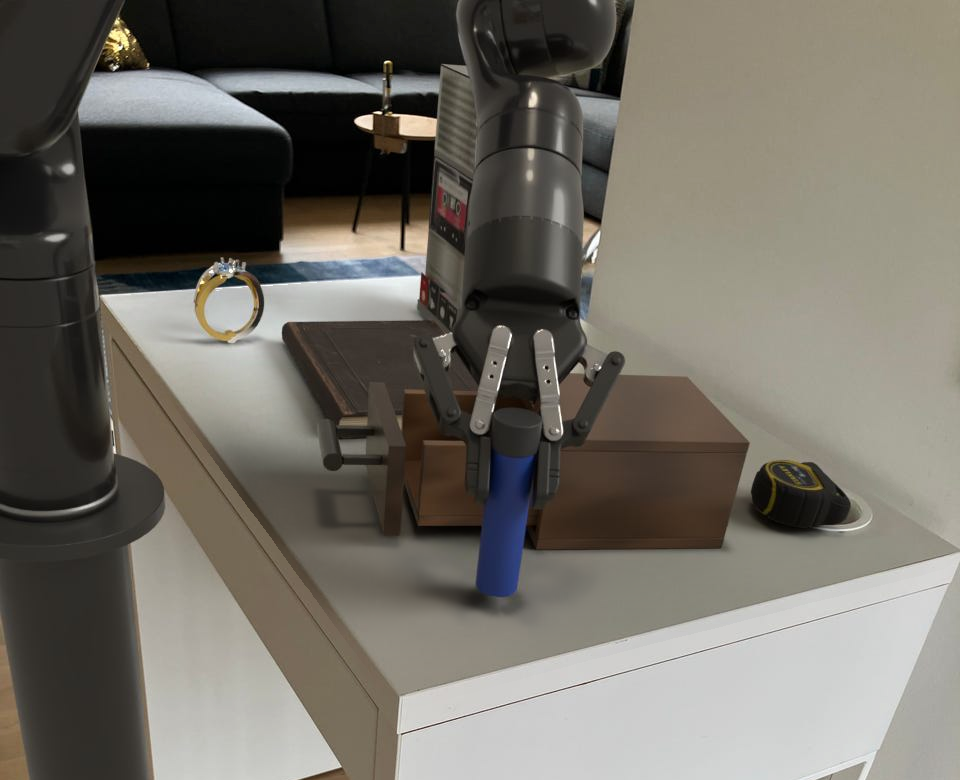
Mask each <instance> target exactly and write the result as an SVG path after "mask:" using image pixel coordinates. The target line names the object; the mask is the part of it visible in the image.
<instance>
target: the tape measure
mask: <svg viewBox="0 0 960 780" xmlns="http://www.w3.org/2000/svg"><path fill="white" fill-rule="evenodd" d="M750 495H751V501H752V505H753V506H754V507H755V508H756V510H757V511H759V512H760V513H761V514H763V515H764V516H765V517H766V518H768V519H770V520H772V521H775V522H776V523H778V524H782V525H784V526H785V525H786V526H788V527H789V526H790V527H794V528H801V529H806V528H807V529H808V528H816V527H822V526H823V527H824V526H834V525H839V524H841V523H843V522H844V521H846V520H847V518H848V515H849V514H850V510H851V508H852V503H851V500H850V499H849V497H848V495H847V494H846V493H845V492H844V490H843V489H842V488H840V487H839V486H838V485H837V484H836V483H835V482H834V481H833V480H832V479H831V478H830V477H829V475H828V474H826V473H825V472H824V471H823V470H822V469H821V467H820V466H819V465H818V464H817V463H815V462H813V461H803V462H797V461H793V460H789V459H777V460H776V459H775V460H772V461H771V460H770V461H768V462H766V463H764V464H762V466H761V467H760V468H759V470H758V471H757V472H756V473H755V475H754V478H753V481H752V484H751V489H750Z"/></svg>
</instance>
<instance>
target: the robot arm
mask: <svg viewBox="0 0 960 780" xmlns="http://www.w3.org/2000/svg"><path fill="white" fill-rule="evenodd" d="M125 2H126V0H0V515H3V516H5V517H8V518H12V519H16V520H22V521H29V522H59V521H67V520H73V519H78V518H82V517H86V516H89V515H92V514H94V513H97V512H99V511H101V510H103V509H105V508H106V507H108V506H109V505H110V504H111V503H112V502H113V501H114V500H115V499H116V497H117V495H118V490H119V489H118V479H117V476H116V466H115V462H114V453H115V452H114V447H115V435H114V434H115V433H114V430H113V429H112V421H111V411H110V410H111V409H110V400H109V390H108V389H109V388H108V380H107V379H108V378H107V370H106V369H107V368H106V359H105V347H104V340H103V339H104V338H103V327H102V326H103V325H102V317H101V315H102V314H101V307H100V297H99V286H98V275H97V265H96V264H97V263H96V256H95V246H94V245H95V244H94V232H93V224H92V218H91V212H90V211H91V210H90V204H89V203H90V202H89V196H88V190H87V189H88V188H87V182H86V175H85V167H84V157H83V147H82V146H83V145H82V137H81V136H82V135H81V126H80V115H79V108H80V106H81V103H82V101H83V98H84V97H85V95H86V91H87V89H88V86H89V84H90V81H91V79H92V76H93V74H94V71H95V69H96V66H97V64H98V63H99V60H100V57H101V55H102V53H103V50H104V48H105V46H106V43H107V42H108V39H109V37H110V35H111V33H112V30H113V27H114V26H115V24H116V21H117V19H118V17H119V15H120V13H121V10H122V8H123V6H124V4H125ZM455 25H456V31H457V36H458V37H457V38H458V42H459V46H460V49H461V53H462V56H463V60H464V64H465V66H466V67H467V71H468V75H469V79H470V84H471V90H472V95H473V101H474V109H475V118H476V142H475V159H474V176H473V185H472V190H471V194H470V199H469V204H468V211H467V225H466V230H465V234H464V240H465V258H464V274H463V291H462V307H461V315H460V317H459V318H458V320H457V321H456V322H455V324H454V326H453V330H452V332H450V333H447V334H444V335H440V336H437V337H434V338H432V337H431V336H430V335H428V334H425V333H422V334H419V335H417V336H416V338H415V340H414V351H413V362H414V365H415V367H416V370H417V373H418V375H419V378H420V380H421V383H422V386H423V388H424V391H425V393H426V396H427V399H428V401H429V404H430V406H431V409H432V411H433V414H434V417H435V419H436V422H437V424H438V427H439V430H440V432H441V433H442V434H443V435H445V436H452V435H453V436H455V437H457V438H459V439H461V440H462V441H463V442H464V443H465V445H466V448H467V452H466V469H465V485H464V486H465V489H466V492H467V494H472V495H475V504H482V505H486V503H487V499H488V494H489V479H490V461H491V442H492V439H491V437H488V434H489V427H490V423H491V418H492V414H493V410H494V406H495V402H496V398H508V397H518V398H521V399H524V400H526V401H531V407H532V411H533V412H535V413H537V414H538V415H540V416H541V418H542V428H541V435H540V442H539V448H538V452H537V453H536V459H535V466H534V473H533V491H532V509H544V507H545V505H546V503H547V501H552V500H553V498H554V496H555V494H556V491H557V489H558V487H559V470H560V450H561V449H563V448H565V447H569V446H573V447H580V446H582V445H583V444H584V442H585V440H586V438H587V436H588V434H589V432H590V430H591V428H592V426H593V425H594V423H595V421H596V419H597V417H598V415H599V413H600V411H601V409H602V407H603V405H604V403H605V401H606V399H607V397H608V396H609V394H610V392H611V390H612V388H613V386H614V384H615V382H616V380H617V378H618V376H619V375H621V372H622V370H623V368H624V367H625V364H626V358H625V356H624V354H623V353H621V352H620V351H615V350H614V351H610V352H609V353H605V352H603V351H602V350H600V349H598V348H595V347H594V346H592V345H590V344H588V337H587V335H586V333H585V331H584V329H583V326H582V323H581V299H582V298H581V297H582V275H583V274H582V272H583V271H582V268H583V249H584V248H583V247H584V221H585V219H584V218H585V217H584V216H585V213H584V201H583V200H584V199H583V192H582V175H583V171H582V170H583V150H584V149H583V148H584V147H583V146H584V116H583V109H582V106H581V103H580V100H579V99H578V97H577V95H576V94H575V93H574V91H572V90H571V89H570V88H569V87H568V86H566V85H565V84H563V83H561V82H559V81H557V80H554V79H552V78H555V77H560V76H566V75H571V74H578V73H580V72H585V71H588V70H592V69H593V68H596V67H597V66H599V65H600V64H601V63H602V62H603V61H604V60H605V59H606V57H607V56H608V55H609V52H610V50H611V48H612V46H613V42H614V39H615V37H616V36H615V34H616V30H617V7H616V0H458V2H457V6H456V11H455ZM453 352H456V353H457V355H458V356H459V358H460V359H461V361H462V362H463V364H464V365H465V367H466V368H467V370H468V371H469V373H470V374H471V376H472V377H473V379H474V380H475V382H476V383H477V385H478V386H479V388H478V392H477V397H476V401H475V405H474V409H473V413H472V414H469V413H467V412H465V411H462V410H460V407H459V405H458V402H457V400H456V397H455V395H454V392H453V389H452V387H451V384H450V382H449V379H448V377H447V374H446V372H447V371H448V370H449V368H450V362H451V357H450V355H451V354H452V353H453ZM578 364H580V365H581V366H582V367H583V369H584V372H583V374H584V375H583V381H584V383H585V384H586V385H587V386H589V387H591V388H590V390H589V392H588V394H587V395H586V397H585V399H584V401H583V403H582V405H581V407H580V409H579V411H578V413H577V415H576V417H575V418H574V419H571V420H567V421H563V422H562V418H561V411H560V391H559V385H560V384H561V382H562V381H563V380H564V379H565V378H566V377H567V376H568V374H569V373H572V371H573V370H574V369H575V368H576V367H577V366H578Z"/></svg>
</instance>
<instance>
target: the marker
mask: <svg viewBox="0 0 960 780" xmlns="http://www.w3.org/2000/svg"><path fill="white" fill-rule="evenodd" d="M541 428H542V418H541V416H540V415H538V414H537V413H535V412H533V411H530V410H527V409H522V408H502V409H499V410H497V411H495V412H494V414H493V420H492V429H491V439H492V442H491V461H490V479H489V494H488V499H487V503H486V505H484V513H483V522H482V526H481V531H480V540H479V549H478V558H477V566H476V575H475V583H474V585H475V587H476V589H477V590H478V591H479V592H480V593H481V594H484V595H487V596H489V597H492V598H493V597H494V598H505V597H510V596H512V595H514V594H515V593H516V592H517V590H518V585H519V579H520V571H521V565H522V559H523V558H522V557H523V552H524V551H523V549H524V542H525V537H526V531H527V529H526V523H527V516H528V508H529V501H530V494H531V487H532V480H533V473H534V466H535V459H536V453H537V452H538V448H539V442H540V435H541Z"/></svg>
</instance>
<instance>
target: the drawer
mask: <svg viewBox="0 0 960 780" xmlns="http://www.w3.org/2000/svg"><path fill="white" fill-rule="evenodd" d="M453 392H454V395H455V397H456V400H457V402H458V405H459V407H460V410H462V411H465V412H467V413H469V414H472V413H473V409H474V405H475V401H476V397H477V392H478V391H453ZM502 408H522V409H527V408H526V406H525V404H524V403H523V401H522V399H521V398H518V397H508V398H496V402H495V406H494V410H493V414H494V412H495V411H497V410H499V409H502ZM527 410H528V409H527ZM493 414H492V418H491V423H490V427H489V434H488V437H491V429H492V420H493ZM316 432H317V437H318V438H317V439H318V443H319V449H320V453H321V459H322V464H323V467H324V468H325V469H326V470H327V471H330V472H336V471H339V470H340V469H341V468H342V467H343V466H365V468H366V473H367V476H368V480H369V484H370V488H371V492H372V496H373V500H374V504H375V507H376V512H377V516H378V519H379V524H380V527H381V532H382V535H383V536H400V535H401V527H402V513H403V501H404V486H405V489H406V492H407V496H408V498H409V502H410V505H411V508H412V511H413V514H414V517H415V522H416V524H417V526H418V527H448V526H449V527H457V526H459V527H460V526H461V527H463V526H465V527H468V526H469V527H473V526H476V527H477V526H481V527H482V522H483V513H484V505H482V504H475V495H472V494H467V492H466V489H465V486H464V485H465V469H466V452H467V448H466V445H465V443H464V442H463V441H462V440H461V439H459V438H457V437H455V436H453V435H452V436H445V435H443V434H442V433H441V432H440V430H439V427H438V424H437V422H436V419H435V417H434V414H433V411H432V409H431V406H430V404H429V401H428V399H427V396H426V393H425V391H424V390H410V389H404V393H403V408H402V423H401V429H400V426H399V423H398V420H397V417H396V414H395V412H394V409H393V406H392V403H391V400H390V397H389V394H388V391H387V388H386V385H385V382H369V396H368V417H367V426H361V425H336V426H335V423H334V422H333V421H332V420H330V419H329V418H323V419H321V420H319V421H318V422H317V424H316ZM339 435H346V436H367V438H365V441H366V442H365V454H364V453H362V454H357V453H344V454H343V453H342V450H341V449H342V448H341V445H340V439H339ZM532 491H533V480H532V487H531V494H530V501H529V508H528V516H527V523H526V525H537V520H538V514H539V509H532Z"/></svg>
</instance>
